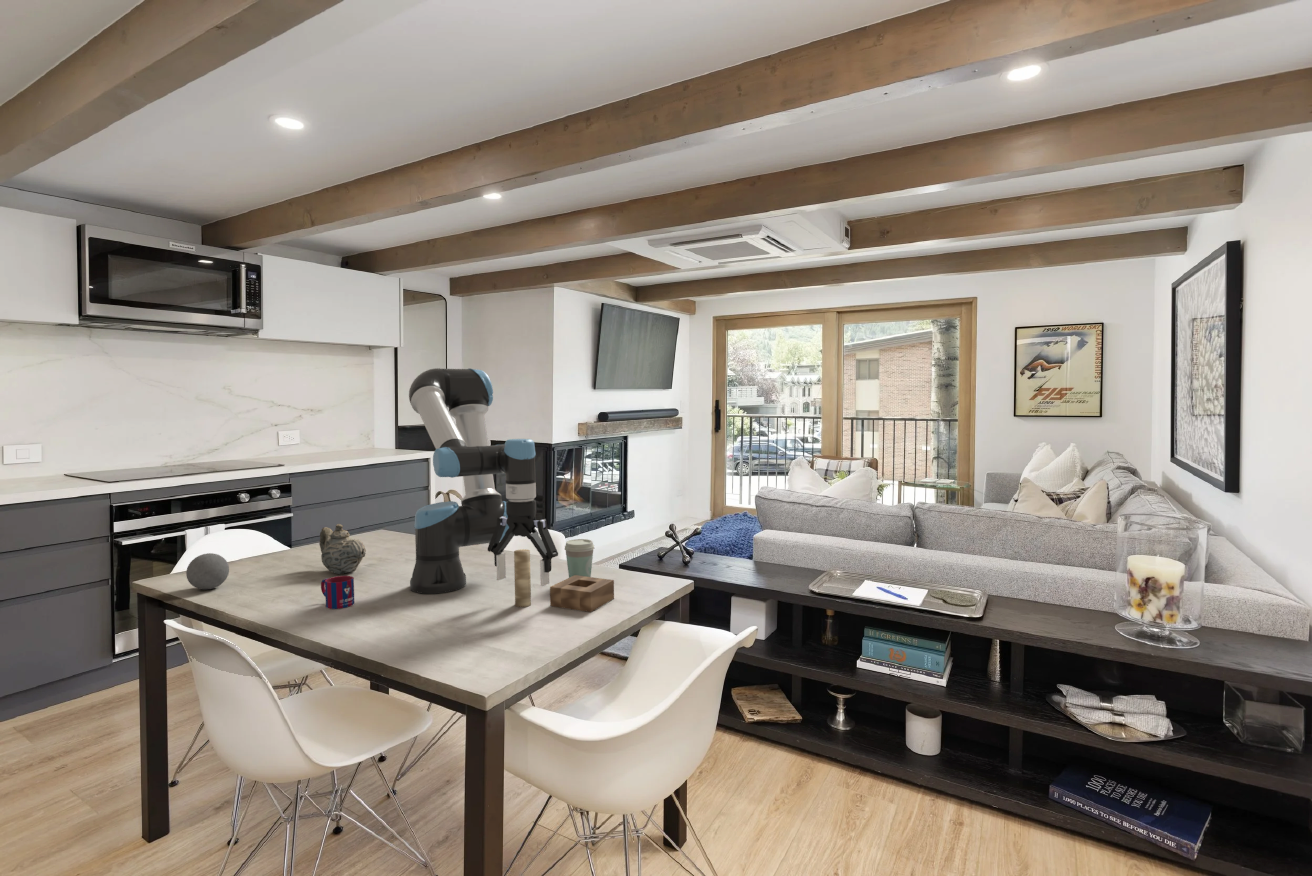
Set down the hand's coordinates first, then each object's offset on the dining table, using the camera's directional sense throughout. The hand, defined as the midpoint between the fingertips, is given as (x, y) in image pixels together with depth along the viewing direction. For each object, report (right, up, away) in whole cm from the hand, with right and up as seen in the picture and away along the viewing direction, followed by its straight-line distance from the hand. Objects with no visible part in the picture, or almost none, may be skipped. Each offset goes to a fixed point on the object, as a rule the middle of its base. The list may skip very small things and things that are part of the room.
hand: (522, 581), depth 170 cm
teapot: (-63, -5, +34) cm, 71 cm away
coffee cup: (+12, -5, +20) cm, 24 cm away
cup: (-49, -6, +2) cm, 49 cm away
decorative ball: (-92, -6, +17) cm, 93 cm away
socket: (+15, -6, +2) cm, 16 cm away
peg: (0, -6, +1) cm, 6 cm away
